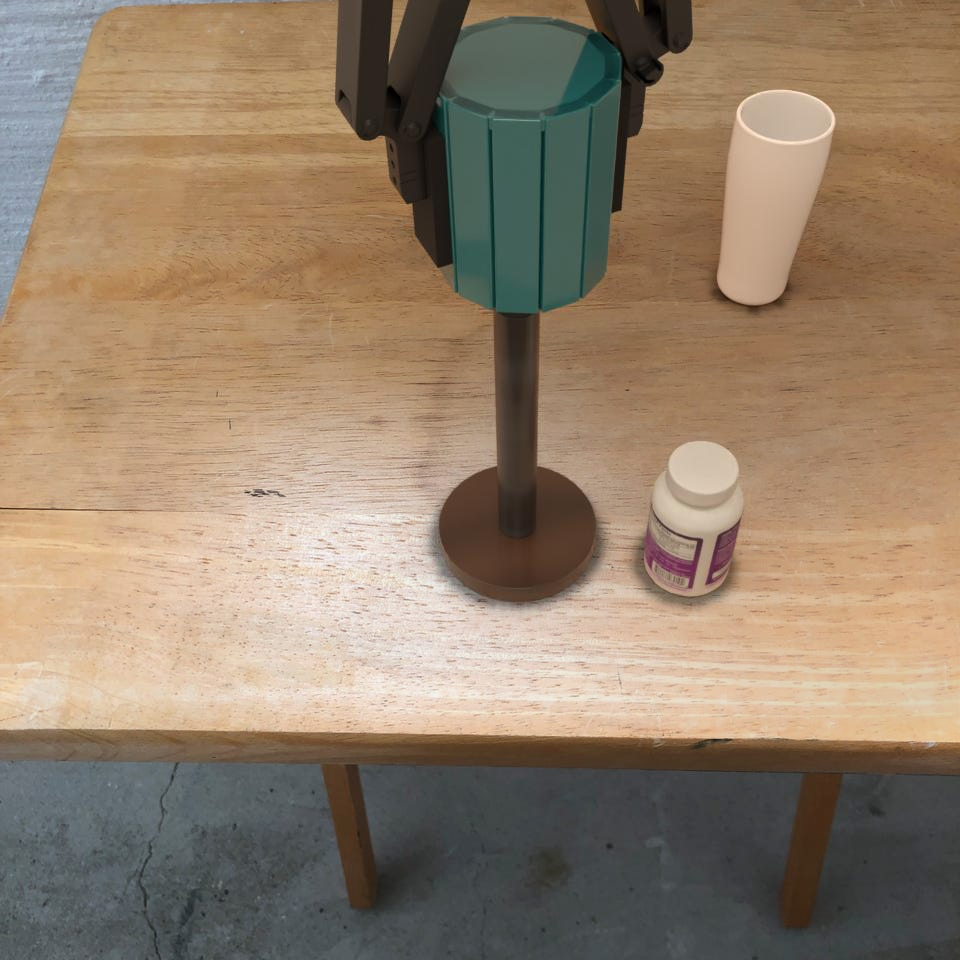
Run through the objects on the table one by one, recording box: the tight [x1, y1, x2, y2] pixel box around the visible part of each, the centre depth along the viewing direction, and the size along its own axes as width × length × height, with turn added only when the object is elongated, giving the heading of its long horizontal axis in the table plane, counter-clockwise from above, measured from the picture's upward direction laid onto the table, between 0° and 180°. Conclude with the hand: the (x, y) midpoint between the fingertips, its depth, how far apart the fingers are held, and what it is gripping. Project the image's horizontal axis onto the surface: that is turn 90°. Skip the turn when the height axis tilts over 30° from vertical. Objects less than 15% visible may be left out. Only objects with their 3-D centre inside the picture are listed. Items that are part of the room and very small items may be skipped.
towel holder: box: [438, 308, 597, 603], centre depth 63 cm, size 10×10×20 cm
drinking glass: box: [716, 89, 836, 306], centre depth 80 cm, size 7×7×15 cm
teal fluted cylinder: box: [430, 15, 622, 314], centre depth 49 cm, size 8×8×10 cm
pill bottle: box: [643, 440, 745, 597], centre depth 66 cm, size 5×5×10 cm
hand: (519, 222), depth 52 cm, fingers closed on teal fluted cylinder, 8 cm apart
